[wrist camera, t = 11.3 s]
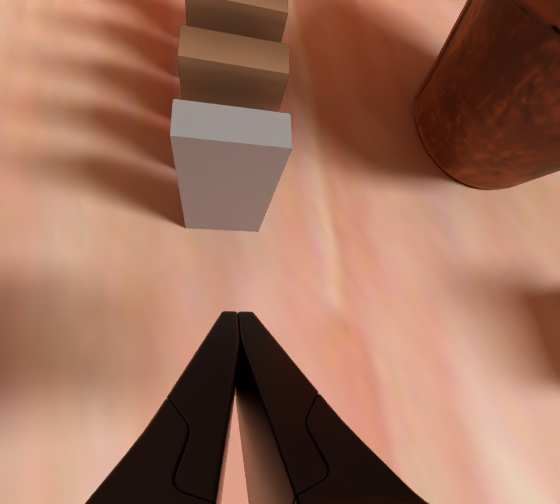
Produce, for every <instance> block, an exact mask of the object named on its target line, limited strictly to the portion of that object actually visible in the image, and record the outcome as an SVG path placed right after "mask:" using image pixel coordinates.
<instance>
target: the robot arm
mask: <svg viewBox="0 0 560 504" xmlns="http://www.w3.org/2000/svg"><path fill="white" fill-rule="evenodd" d="M235 395H236V405H237V413H238V421H239V429H240V437H241V445H242V452H243V460H244V468H245V476H246V484H247V492H248V500H249V504H429V503H428V502H426V501H425V500H423V499H422V498H421V497H420V496H418V495H417V494H416V493H415V492H414V491H413V490H412V489H410V488H409V487H408V486H407V485H406V484H405V483H404V482H403V481H402V480H401V479H400V478H399V477H398V476H397V475H396V474H395V473H394V472H393V471H392V470H391V469H390V468H389V467H388V466H387V465H386V464H385V463H384V462H383V461H382V460H381V459H380V458H379V457H378V456H377V455H376V454H375V453H374V452H373V451H372V450H371V449H370V448H369V447H368V446H367V445H366V444H365V443H364V442H363V441H362V440H361V439H360V438H359V437H358V436H357V435H356V434H355V433H354V432H353V431H352V430H351V429H350V428H349V427H348V426H347V425H346V424H345V423H344V422H343V420H342V419H341V418H340V417H339V416H338V415H337V413H336V412H335V411H334V410H333V409H332V408H331V407H330V405H329V404H328V403H327V402H326V401H325V399H324V398H323V397H322V396H321V395H320V394H318V391H317V390H316V389H315V387H314V386H313V385H312V384H311V382H310V381H309V380H308V379H307V378H306V376H305V375H304V374H303V373H302V371H301V370H300V369H299V368H298V367H297V365H296V364H295V363H294V362H293V360H292V359H291V358H290V357H289V356H288V354H287V353H286V352H285V351H284V349H283V348H282V347H281V346H280V345H279V343H278V342H277V341H276V340H275V338H274V337H273V336H272V335H271V334H270V332H269V331H268V330H267V329H266V327H265V326H264V325H263V324H262V323H261V321H260V320H259V319H258V318H257V316H256V315H255V314H254V313H253V312H239V313H238V314H237V312H235V311H223V312H222V313H221V314H220V316H219V317H218V319H217V321H216V322H215V324H214V325H213V327H212V328H211V330H210V331H209V333H208V334H207V336H206V338H205V339H204V341H203V342H202V344H201V345H200V347H199V348H198V350H197V351H196V353H195V355H194V356H193V358H192V359H191V361H190V362H189V364H188V365H187V367H186V368H185V370H184V371H183V373H182V375H181V376H180V378H179V379H178V381H177V382H176V384H175V385H174V387H173V388H172V390H171V392H170V393H169V395H168V396H167V399H166V400H165V401H164V402H163V404H162V405H161V407H160V408H159V410H158V411H157V413H156V414H155V416H154V417H153V419H152V420H151V421H150V423H149V424H148V426H147V427H146V429H145V430H144V432H143V433H142V434H141V435H140V437H139V438H138V439H137V441H136V442H135V443H134V444H133V446H132V447H131V448H130V449H129V451H128V452H127V453H126V455H125V456H124V457H123V458H122V459H121V461H120V462H119V463H118V464H117V465H116V467H115V468H114V469H113V470H112V471H111V473H110V474H109V475H108V476H107V478H106V479H105V480H104V481H103V482H102V484H101V485H100V486H99V487H98V488H97V490H96V491H95V492H94V493H93V494H92V496H91V497H90V498H89V499H88V500H87V502H86V503H85V504H221V500H222V492H223V484H224V476H225V468H226V461H227V453H228V445H229V437H230V429H231V421H232V413H233V405H234V396H235Z"/></svg>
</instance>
